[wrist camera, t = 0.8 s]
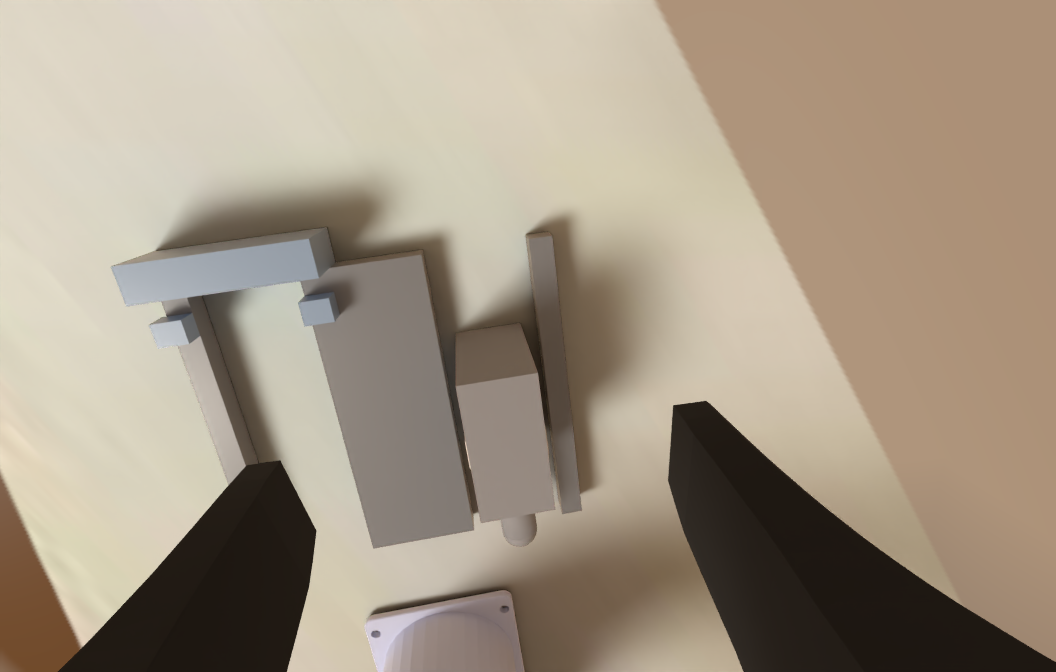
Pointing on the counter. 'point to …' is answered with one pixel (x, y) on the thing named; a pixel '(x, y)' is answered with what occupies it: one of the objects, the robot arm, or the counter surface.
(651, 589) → the counter surface
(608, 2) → the counter surface
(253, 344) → the counter surface
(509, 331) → the tall taupe box
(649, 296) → the counter surface
